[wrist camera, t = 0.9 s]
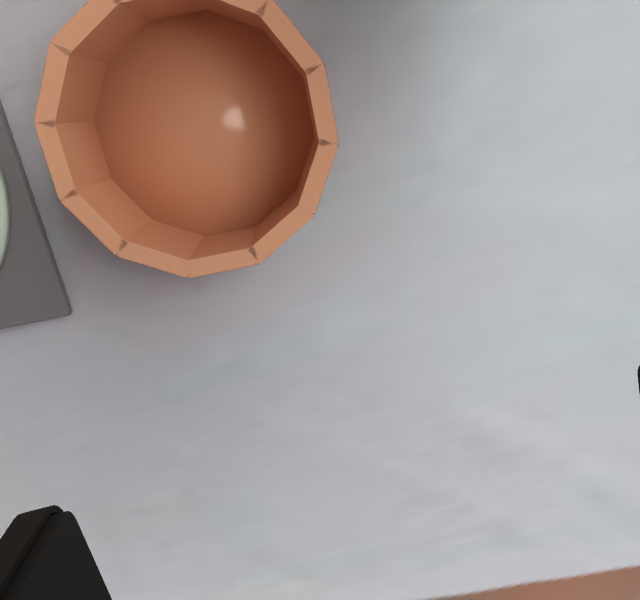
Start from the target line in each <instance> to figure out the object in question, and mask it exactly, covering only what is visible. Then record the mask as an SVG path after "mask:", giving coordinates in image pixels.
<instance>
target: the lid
mask: <svg viewBox="0 0 640 600" xmlns="http://www.w3.org/2000/svg"><path fill="white" fill-rule="evenodd" d="M11 227H12V213H11V202H10V195H9V189H8V185H7V182H6V178H5V175H4V171H3V169H2V166H1V164H0V270H1V267H2V265H3V263H4V261H5V258H6V254H7V251H8V247H9V243H10V236H11Z"/></svg>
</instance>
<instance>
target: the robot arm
mask: <svg viewBox="0 0 640 600" xmlns="http://www.w3.org/2000/svg"><path fill="white" fill-rule="evenodd" d="M638 383H639V392H640V366H639V368H638ZM0 600H112V599H111V596H110V594H109V592H108V590H107V587H106V585H105V583H104V581H103V578H102V576H101V574H100V572H99V570H98V567H97V565H96V563H95V561H94V558H93V556H92V554H91V552H90V549H89V547H88V545H87V543H86V540H85V538H84V536H83V534H82V531H81V529H80V527H79V525H78V522H77V520H76V518H75V516H74V515H73V514H72V513H71V512H69V511H66V512H63V510H62V509H61V508H60V507H59V506H55V505H53V506H49V507H45V508H41V509H37V510H33V511H29V512H26V513H22V514H19V515H17V516H16V518H15V519H14V520H13V521H12V523H11V524H10V526H9V527H8V529H7V530H6V532H5V533H4V535H3V536H2V538H1V539H0Z"/></svg>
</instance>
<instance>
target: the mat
mask: <svg viewBox="0 0 640 600" xmlns="http://www.w3.org/2000/svg"><path fill="white" fill-rule="evenodd" d="M0 164H1V166H2V169H3V171H4V175H5V178H6V182H7V185H8V189H9V195H10V202H11V213H12V227H11V236H10V243H9V247H8V251H7V254H6V258H5V261H4V263H3V265H2V267H1V270H0V329H1V328H6V327H11V326H16V325H21V324H26V323H31V322H36V321H41V320H46V319H51V318H56V317H61V316H66V315H70V314H71V313H72V312H73V311H72V308H71V305H70V302H69V300H68V297H67V294H66V291H65V288H64V285H63V282H62V279H61V276H60V273H59V270H58V267H57V264H56V262H55V259H54V256H53V253H52V250H51V247H50V244H49V241H48V238H47V235H46V232H45V229H44V226H43V224H42V221H41V218H40V215H39V212H38V209H37V206H36V203H35V200H34V197H33V194H32V191H31V188H30V186H29V183H28V180H27V177H26V174H25V171H24V168H23V165H22V162H21V159H20V156H19V153H18V150H17V148H16V145H15V142H14V139H13V136H12V133H11V130H10V127H9V124H8V121H7V118H6V115H5V112H4V110H3V107H2V104H1V101H0Z"/></svg>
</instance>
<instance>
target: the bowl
mask: <svg viewBox="0 0 640 600" xmlns="http://www.w3.org/2000/svg"><path fill="white" fill-rule="evenodd" d="M51 41H52V42H53V43H54V44H53V43H49V48H48V53H47V58H46V63H45V68H44V73H43V78H42V83H41V88H40V93H39V98H38V103H37V108H36V113H35V118H34V122H37V123H35V124H34V125H35V128H36V131H37V134H38V137H39V140H40V143H41V146H42V149H43V152H44V155H45V159H46V162H47V165H48V168H49V171H50V174H51V177H52V180H53V183H54V186H55V189H56V192H57V195H58V198H59V199H62V200H61V201H60V202H61V203H62V204H63V205H64V206H65V207H66V208H67V209H68V210H69V211H71V212H72V213H73V214H74V215H75V216H76V217H77V218H78V219H79V220H80V221H81V222H82V223H83V224H84V225H85V226H86V227H87V228H88V229H89V230H90V231H91V232H92V233H93V234H94V235H95V236H96V237H97V238H98V239H99V240H100V241H101V242H102V243H103V244H104V245H105V246H106V247H107V248H108V249H109V250H110V251H111V252H112V253H113V254H114V255H116V254H117V253H118V255H117V257H120V258H124V259H127V260H130V261H133V262H137V263H140V264H143V265H146V266H150V267H153V268H156V269H159V270H162V271H166V272H169V273H172V274H175V275H179V276H182V277H185V278H188V276H189V278H193V277H198V276H203V275H208V274H213V273H218V272H223V271H228V270H233V269H238V268H243V267H248V266H253V265H258V263H261V262H262V261H264V260H265V259H266V258H267V257H268V256H269V255H270V254H272V253H273V252H274V251H275V250H276V249H277V248H278V247H280V246H281V245H282V244H283V243H284V242H285V241H286V240H288V239H289V238H290V237H291V236H292V235H293V234H294V233H296V232H297V231H298V230H299V229H300V228H301V227H302V226H304V225H305V224H306V223H307V222H308V221H309V220H310V219H312V218H313V215H315V212H316V209H317V206H318V203H319V200H320V197H321V195H322V192H323V189H324V186H325V183H326V180H327V177H328V174H329V171H330V168H331V165H332V162H333V159H334V157H335V154H336V151H337V148H338V144H336V143H339V142H338V136H337V131H336V125H335V119H334V114H333V108H332V103H331V97H330V91H329V86H328V80H327V75H326V69H325V64H323V61H322V59H321V58H320V57H319V56H318V54H317V53H316V52H315V51H314V49H313V48H312V47H311V46H310V44H309V43H308V42H307V41H306V39H305V38H304V37H303V36H302V34H301V33H300V32H299V31H298V29H297V28H296V27H295V26H294V24H293V23H292V22H291V21H290V20H289V18H288V17H287V16H286V15H285V13H284V12H283V11H282V10H281V8H280V7H279V6H278V5H277V3H276V2H275V1H274V0H89V1H88V2H87V3H86V4H85V5H84V6H83V7H82V8H81V9H80V10H79V11H78V12H77V13H76V14H75V16H74V17H73V18H72V19H71V20H70V21H69V22H68V23H67V24H66V25H65V26H64V27H63V28H62V29H61V30H60V31H59V32H58V33H57V34H56V35H55V36H54V37H53V38H52V39H51ZM322 64H323V65H322Z"/></svg>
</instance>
